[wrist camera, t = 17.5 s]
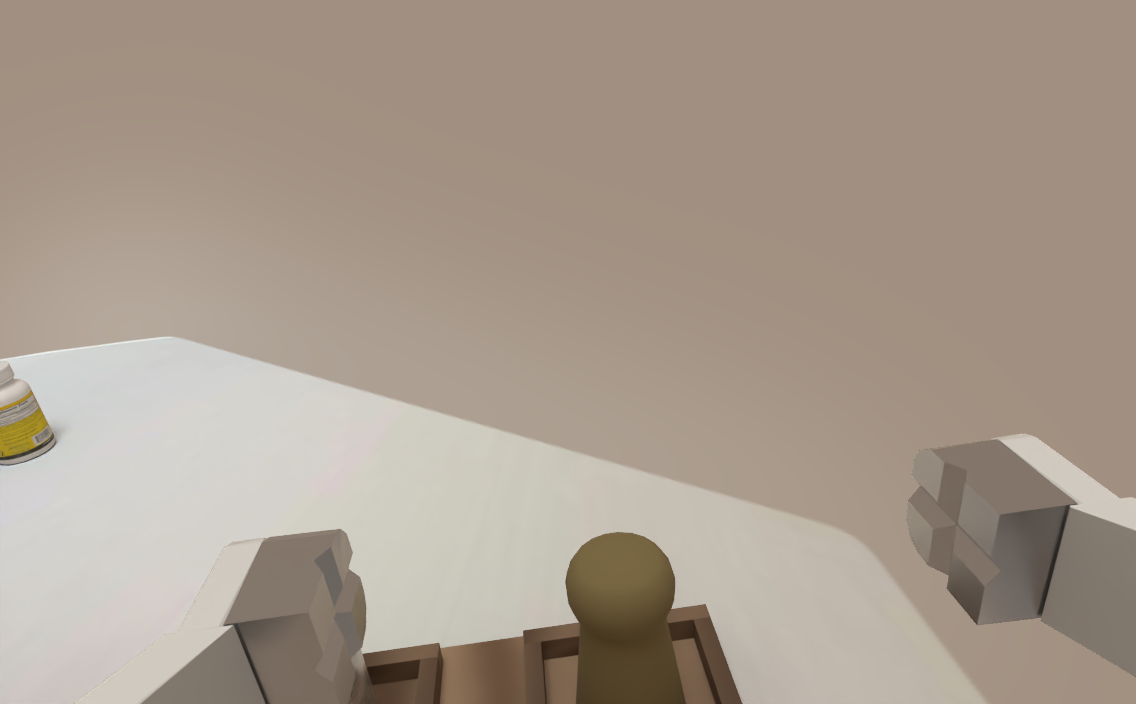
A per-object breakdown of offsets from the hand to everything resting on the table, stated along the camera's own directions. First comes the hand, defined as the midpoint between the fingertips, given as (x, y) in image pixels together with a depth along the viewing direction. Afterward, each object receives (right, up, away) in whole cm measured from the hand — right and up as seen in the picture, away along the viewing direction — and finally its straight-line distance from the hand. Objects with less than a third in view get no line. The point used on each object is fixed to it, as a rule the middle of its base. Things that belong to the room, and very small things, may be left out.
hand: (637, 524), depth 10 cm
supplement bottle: (-58, -8, +63) cm, 86 cm away
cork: (+2, -17, +27) cm, 32 cm away
